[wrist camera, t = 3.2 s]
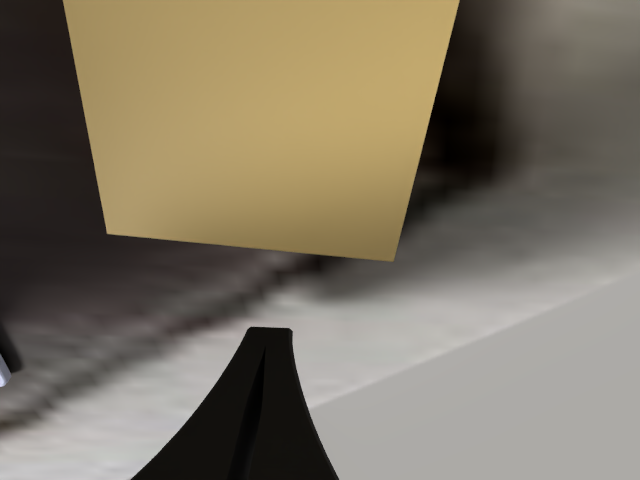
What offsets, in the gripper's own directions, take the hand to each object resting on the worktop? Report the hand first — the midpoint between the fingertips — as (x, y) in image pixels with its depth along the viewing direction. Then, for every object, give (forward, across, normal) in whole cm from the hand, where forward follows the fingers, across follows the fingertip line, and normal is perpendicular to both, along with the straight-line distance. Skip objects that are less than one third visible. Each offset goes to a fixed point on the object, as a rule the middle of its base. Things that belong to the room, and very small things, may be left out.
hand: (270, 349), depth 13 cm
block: (+3, 0, -8) cm, 8 cm away
